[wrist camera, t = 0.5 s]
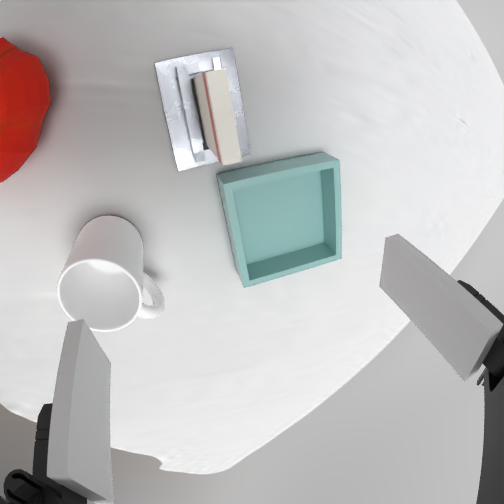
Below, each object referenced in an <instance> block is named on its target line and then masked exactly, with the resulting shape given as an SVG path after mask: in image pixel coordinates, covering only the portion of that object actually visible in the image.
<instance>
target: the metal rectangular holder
mask: <svg viewBox="0 0 504 504" xmlns="http://www.w3.org/2000/svg"><path fill="white" fill-rule="evenodd" d="M155 67H156V72H157V77H158V82H159V87H160V92H161V97H162V102H163V106H164V111H165V116H166V120H167V125H168V129H169V134H170V138H171V143H172V147H173V152H174V156H175V160H176V164H177V169H178V172H179V171H183V170H187V169H190V168H194V167H198V166H202V165H206V164H211V163H215V162H219V160H218V159H217V157H216V156H215V155H214V154H213V152H212V151H211V150H210V149H209V148H208V146H207V145H206V144H205V143H204V140H203V135H202V130H201V125H200V120H199V115H198V110H197V105H196V99H195V94H194V89H193V84H192V78H193V77H195V76H198V75H200V74H202V73H204V72H208V71H213V70H219V69H225V68H226V70H227V75H228V81H229V87H230V93H231V99H232V105H233V110H234V116H235V122H236V128H237V134H238V140H239V146H240V152H241V156H246V155H250V148H249V142H248V135H247V129H246V123H245V117H244V111H243V105H242V99H241V92H240V86H239V80H238V74H237V68H236V62H235V57H234V51H233V48H230V49H223V50H217V51H211V52H205V53H199V54H194V55H189V56H184V57H179V58H175V59H170V60H166V61H162V62H157V63H155Z"/></svg>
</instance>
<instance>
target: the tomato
mask: <svg viewBox="0 0 504 504" xmlns="http://www.w3.org/2000/svg"><path fill="white" fill-rule="evenodd" d="M50 104H51V101H50V91H49V79H48V77H47V75H46V73H45V71H44V68H43V66H42V64H41V62H40V60H39V58H38V57H37V56H34V55H32V54H29V53H27V52H24V51H21V50H19V49H18V48H17V47H15V46H14V45H12V44H11V43H10V42H8V41H7V40H6V39H5V38H4V37H3V38H0V183H1V182H3V181H5V180H6V179H7V178H9V177H10V176H11V175H12V174H14V173H15V172H16V171H18V170H19V169H20V167H21V166H22V165H23V164H24V162H25V161H26V160H27V158H28V157H29V156H30V155H31V154H32V152H33V151H34V150H35V149H36V147H37V143H38V139H39V135H40V131H41V127H42V123H43V120H44V116H45V114H46V112H47V110H48V108H49V106H50Z"/></svg>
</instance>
